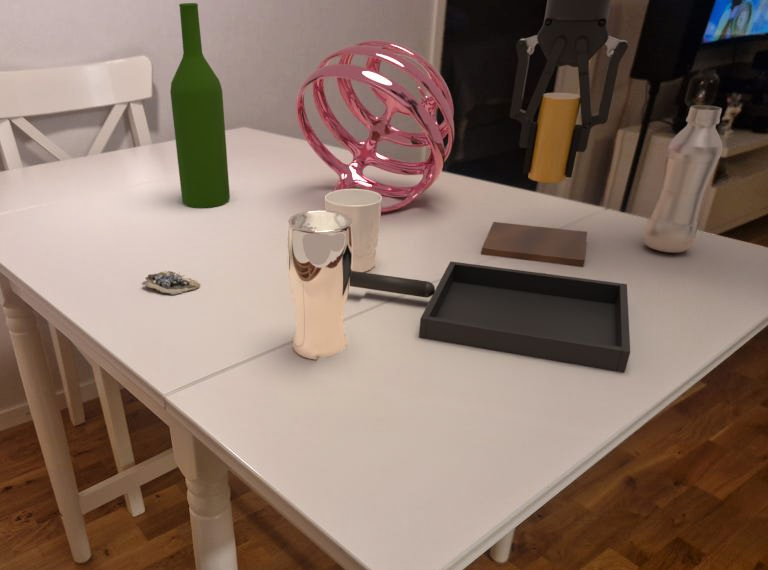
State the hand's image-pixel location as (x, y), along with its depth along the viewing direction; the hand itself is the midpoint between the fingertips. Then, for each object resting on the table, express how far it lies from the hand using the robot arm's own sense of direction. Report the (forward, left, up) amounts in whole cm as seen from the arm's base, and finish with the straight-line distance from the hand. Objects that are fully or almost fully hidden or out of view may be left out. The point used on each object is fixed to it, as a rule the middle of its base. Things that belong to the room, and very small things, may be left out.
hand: (547, 172), depth 93 cm
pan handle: (+16, +25, -10) cm, 31 cm away
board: (0, 0, -11) cm, 11 cm away
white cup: (+24, +15, -12) cm, 31 cm away
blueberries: (+45, +30, -12) cm, 55 cm away
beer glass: (+20, +39, -12) cm, 45 cm away
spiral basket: (+29, -15, -12) cm, 35 cm away
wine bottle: (+59, -5, -12) cm, 60 cm away
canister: (0, 0, -1) cm, 1 cm away
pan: (-1, +25, -11) cm, 28 cm away
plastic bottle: (-18, -6, -12) cm, 22 cm away
